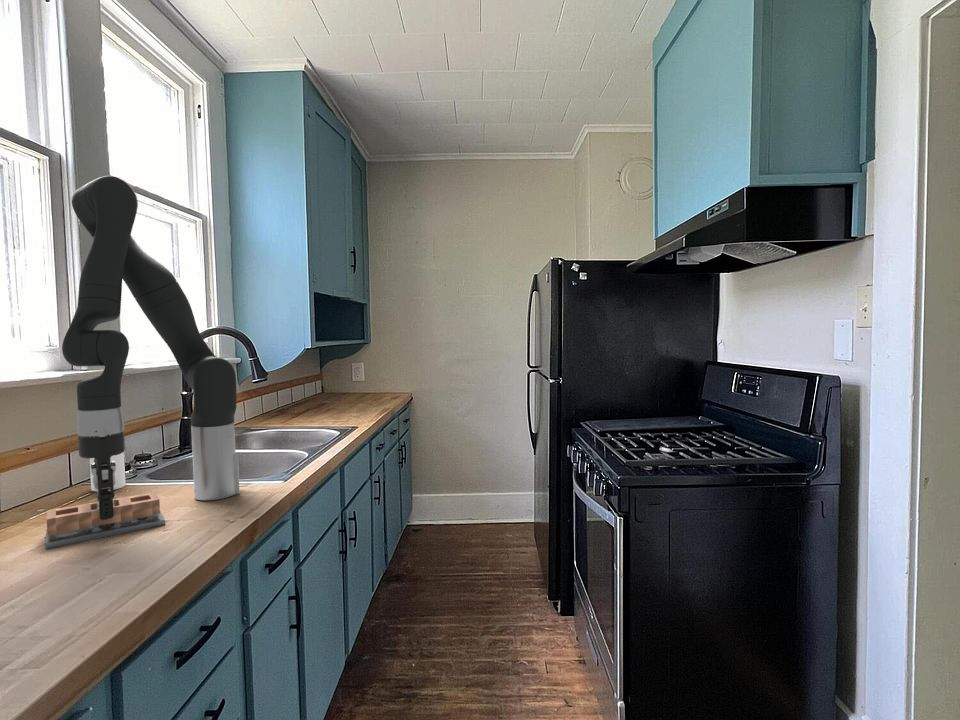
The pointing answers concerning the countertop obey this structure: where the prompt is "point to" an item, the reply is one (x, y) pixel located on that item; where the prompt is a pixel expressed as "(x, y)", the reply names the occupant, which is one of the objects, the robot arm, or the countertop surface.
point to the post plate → (103, 530)
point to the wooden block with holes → (90, 514)
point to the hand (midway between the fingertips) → (105, 513)
